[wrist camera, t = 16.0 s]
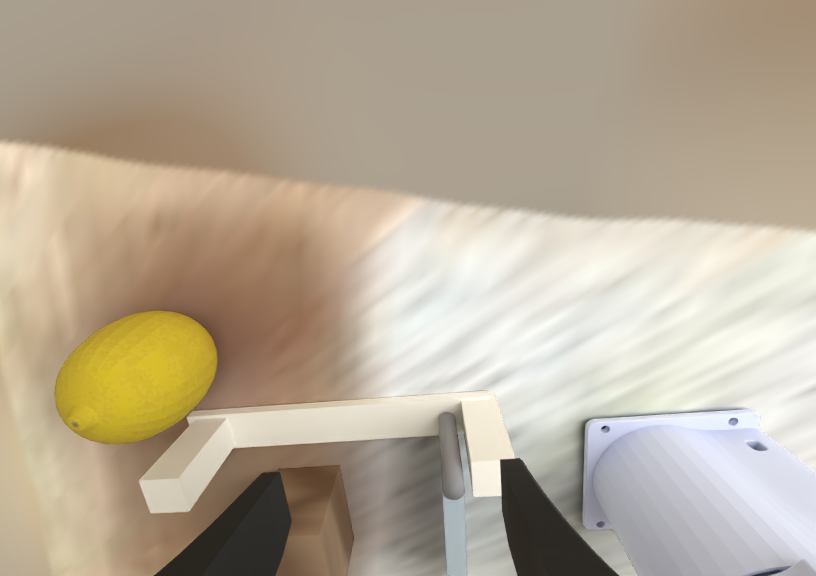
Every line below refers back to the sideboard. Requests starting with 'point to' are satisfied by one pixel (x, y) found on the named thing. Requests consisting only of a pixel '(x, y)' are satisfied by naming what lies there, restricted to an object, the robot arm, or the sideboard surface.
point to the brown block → (316, 523)
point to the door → (452, 496)
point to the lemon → (136, 377)
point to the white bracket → (324, 438)
